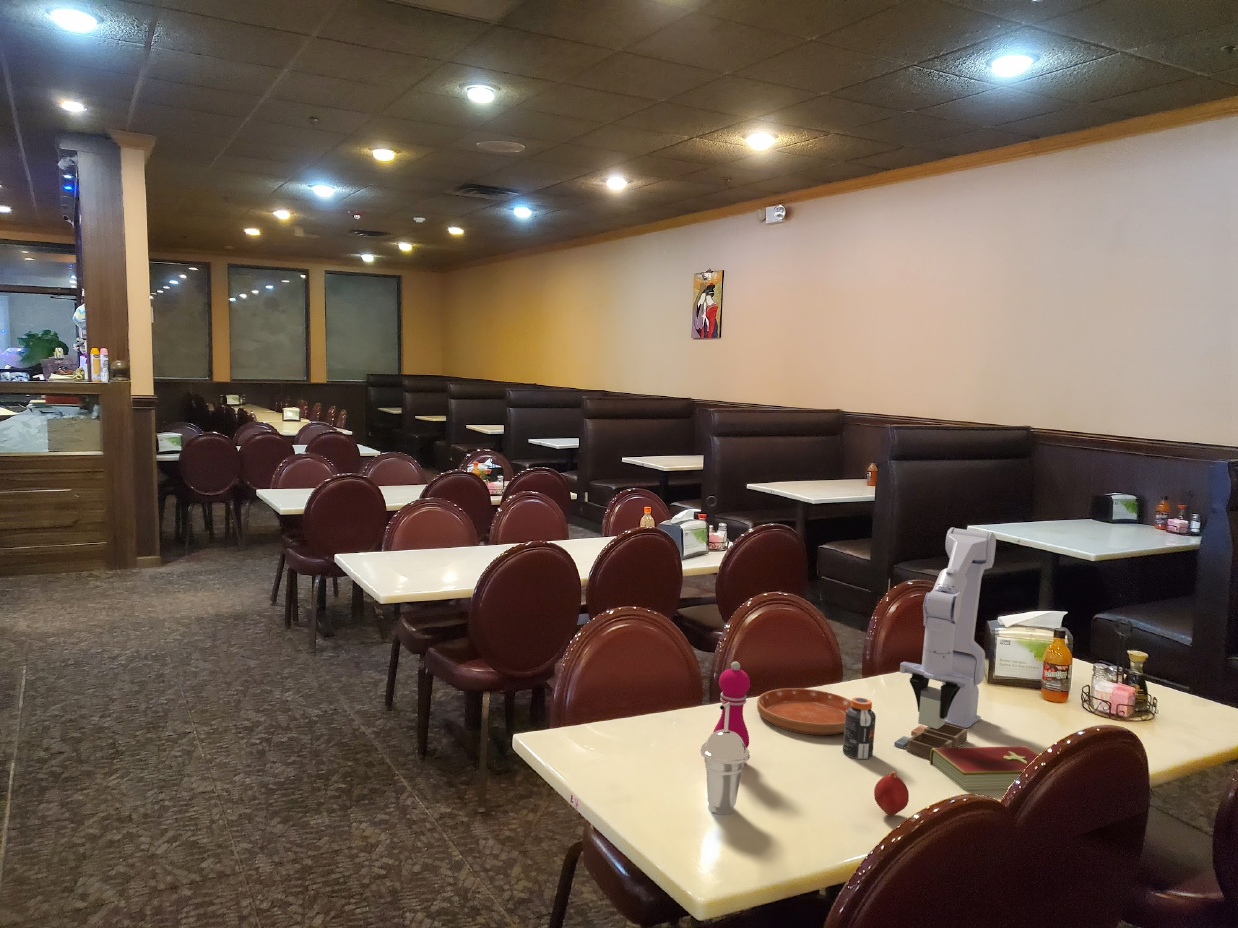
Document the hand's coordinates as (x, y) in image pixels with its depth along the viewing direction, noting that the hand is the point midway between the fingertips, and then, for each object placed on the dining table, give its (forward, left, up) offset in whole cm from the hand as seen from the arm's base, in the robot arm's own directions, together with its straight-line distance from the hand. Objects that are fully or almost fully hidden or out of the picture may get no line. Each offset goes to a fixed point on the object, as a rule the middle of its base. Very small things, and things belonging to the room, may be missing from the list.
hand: (932, 714), depth 185 cm
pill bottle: (+12, -10, -8) cm, 18 cm away
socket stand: (-5, -2, -8) cm, 9 cm away
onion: (+33, +6, -8) cm, 35 cm away
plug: (0, 0, -2) cm, 2 cm away
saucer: (+3, -27, -8) cm, 28 cm away
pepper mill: (+35, -26, -8) cm, 45 cm away
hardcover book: (+2, +14, -9) cm, 16 cm away
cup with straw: (+53, -16, -8) cm, 56 cm away
